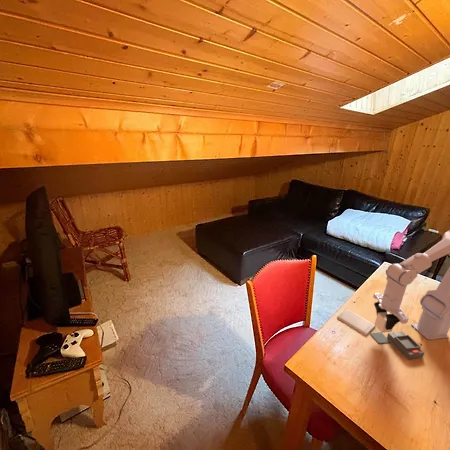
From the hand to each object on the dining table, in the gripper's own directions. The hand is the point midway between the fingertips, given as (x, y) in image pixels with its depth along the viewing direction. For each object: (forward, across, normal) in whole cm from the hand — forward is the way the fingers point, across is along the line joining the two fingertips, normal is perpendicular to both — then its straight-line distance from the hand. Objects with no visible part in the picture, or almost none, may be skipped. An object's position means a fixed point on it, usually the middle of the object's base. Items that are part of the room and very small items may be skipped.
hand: (384, 324), depth 92 cm
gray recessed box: (+7, +5, +6) cm, 10 cm away
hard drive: (+8, -9, -4) cm, 13 cm away
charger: (+2, 0, 0) cm, 2 cm away
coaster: (+7, 0, 0) cm, 7 cm away
